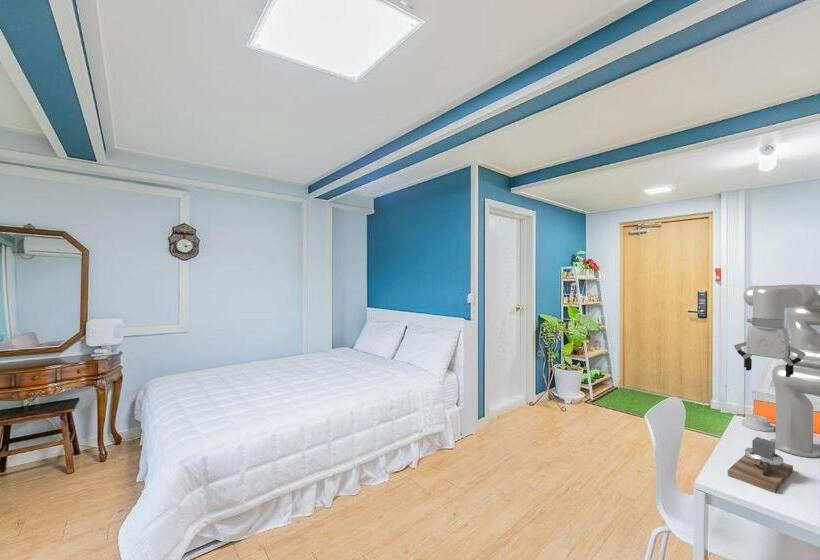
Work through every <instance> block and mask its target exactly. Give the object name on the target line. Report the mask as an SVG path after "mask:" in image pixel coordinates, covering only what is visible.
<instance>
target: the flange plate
mask: <svg viewBox="0 0 820 560" xmlns="http://www.w3.org/2000/svg"><path fill="white" fill-rule="evenodd" d="M751 441H752V443H751V444H752V447H746V448H745V449H744V455H745V456H746V457H747V458H749V459H751V460H753V461H754V464H757V465H759V466H760V465H761V464H763V462H768V463H770V466H776V467H779V466H783V464H784V463H785V461H784V458H783V457H782V456H781V455H779V454H777V453H776V448H775V442H773V441H770V440H768V439H765V438H762V437H759V436H756V437H754V438H753V439H752V440H751Z"/></svg>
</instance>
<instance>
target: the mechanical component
mask: <svg viewBox="0 0 820 560" xmlns="http://www.w3.org/2000/svg"><path fill="white" fill-rule="evenodd" d="M744 418H745V419H742V420H741V425H742V426H743V427H746V428H748V429H750V428H751V430H754V429H756V430H755V431H758V430H761V431H760V432H764V431H768V432H767V433H769V432H770V433H771V432H774V431H775V426H774V425H772V424H771V419H770V418H766V417H765V416H762V415H757V414H749V413H748V414H745V417H744Z"/></svg>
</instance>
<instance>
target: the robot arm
mask: <svg viewBox="0 0 820 560" xmlns="http://www.w3.org/2000/svg"><path fill="white" fill-rule="evenodd" d="M743 301H744V302H745V304H747V305H748V306H750V307H752V317H751V318H747V319H746V323H749V324H751V325H749V326H748V330H747V333H746V335H747V336H746V341H744V342H741V343H737V344H734V345H733V347H734V348H735V350H736V351H737V353H738V355H740V356H741V357H742V359H743V364H744V365H743V367H744V368H745V371H751V370H752V368H753V367H752V360H753V359H752V358H751V357H752V356H755V357H764V358H770V359H776V360H777V359H778V360H783V361H784V362H785V363H786V364H778V365H776V366H775V367H773V369H772V373H771V376H772V381H773V386H774V392H775V438H771V439H770V440H769V441H773V442H775V449H777V450H778V451H782V452H784V453H787V454H790V455H795V456H798V457H803V458H804V457H805V458H818V457H820V451H819V450H818V449H817V448H815V447H814V405H813V403H812V401H811V400H810V399H809V397H807V395H812V396H816V397H820V332H819V331H818V330H816V329H815V328H814V327H812V326H819V327H820V284H776V285H749V286H748V287H747V288H746V289H745V290H744V292H743ZM785 309H787V310H786V318H787V324H788V326H789V329H790V332H791V339H790V337H789V332H788V329H787V328H785ZM743 347H745V351H746V352H745V351H744V350H743V349H742V348H743Z"/></svg>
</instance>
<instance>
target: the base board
mask: <svg viewBox="0 0 820 560" xmlns="http://www.w3.org/2000/svg"><path fill="white" fill-rule="evenodd" d="M792 473H794V466H793V465H792V464H789V463H785V462H784V464H783V466H779V467H776V466H770V463H768V462H763V464H761V465H760V466H759V465H757V464H754V461H753V460H751V459H749V458H747V457H746V456H745V454H744V455H743V456H742V457H740V458H739V459H738V460H737V461H736V462H734V464H732V465H731V466H730V467H729V468H728V469H727V476H728V477H731V478H733V479H736V480H738V481H741V482H744V483H746V484H749V485H752V486H755V487H757V488H760V489H763V490H765V491H768V492H771V493H773V494H776V493H777V492H778V490H779V489H780V488H781V487H782V486H783V485H784V484H785V482H786V481H787V480H788V478H789V477H790V476H791V475H792Z"/></svg>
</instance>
